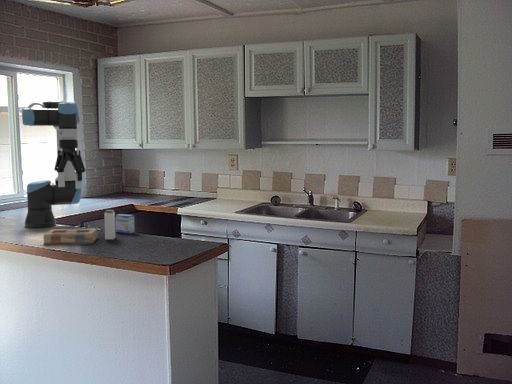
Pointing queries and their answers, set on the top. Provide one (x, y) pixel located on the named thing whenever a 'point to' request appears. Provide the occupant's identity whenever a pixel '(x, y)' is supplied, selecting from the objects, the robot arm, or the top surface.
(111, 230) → the plug
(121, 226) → the medicine box
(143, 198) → the top surface
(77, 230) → the socket block
